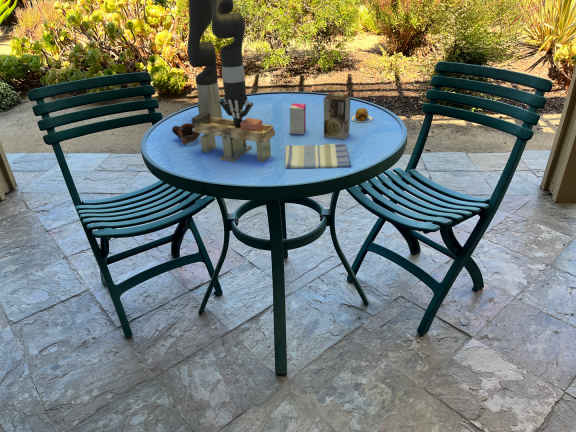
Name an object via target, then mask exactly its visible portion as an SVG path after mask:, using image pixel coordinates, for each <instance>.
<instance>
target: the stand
mask: <svg viewBox="0 0 576 432" xmlns="http://www.w3.org/2000/svg"><path fill="white" fill-rule="evenodd" d="M215 136H216V135H210V134H203V135H200V137H199V139H200V145H201V152H202V153H206V154H209V152H211V151H213V150H215V148H217V145H216V144H217V143H216V137H215ZM221 140H222V142H221V143H222V147H223V154H222V155H220V157H219V160H220V161H226V162H231V163H235V162H236V161H237V160H239V159H240V158H241V157H242V156H243V155H245V154H246V153H247V152H248V151H250V150H252V145H247V140H242V139H235V138H231V137H230V134H228V133H222V136H221ZM255 145H256V156H257V158H256V159H257V162H260V163H265V161H267V160H268V159H269V158H270V157H272V153H271V151H272V150H271V139H270V140H268V141H267V142H266V143H261V142H255Z"/></svg>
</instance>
